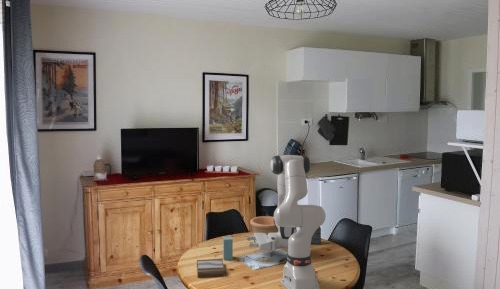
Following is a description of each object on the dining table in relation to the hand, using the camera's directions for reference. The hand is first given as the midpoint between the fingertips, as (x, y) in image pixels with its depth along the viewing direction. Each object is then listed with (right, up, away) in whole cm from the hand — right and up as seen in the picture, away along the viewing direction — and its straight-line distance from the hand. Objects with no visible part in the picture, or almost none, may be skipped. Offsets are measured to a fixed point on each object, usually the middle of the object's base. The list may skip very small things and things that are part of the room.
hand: (248, 241), depth 235 cm
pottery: (+12, -7, +27) cm, 30 cm away
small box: (+41, -7, +26) cm, 50 cm away
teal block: (-12, -9, -1) cm, 15 cm away
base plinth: (-20, -11, -19) cm, 30 cm away
